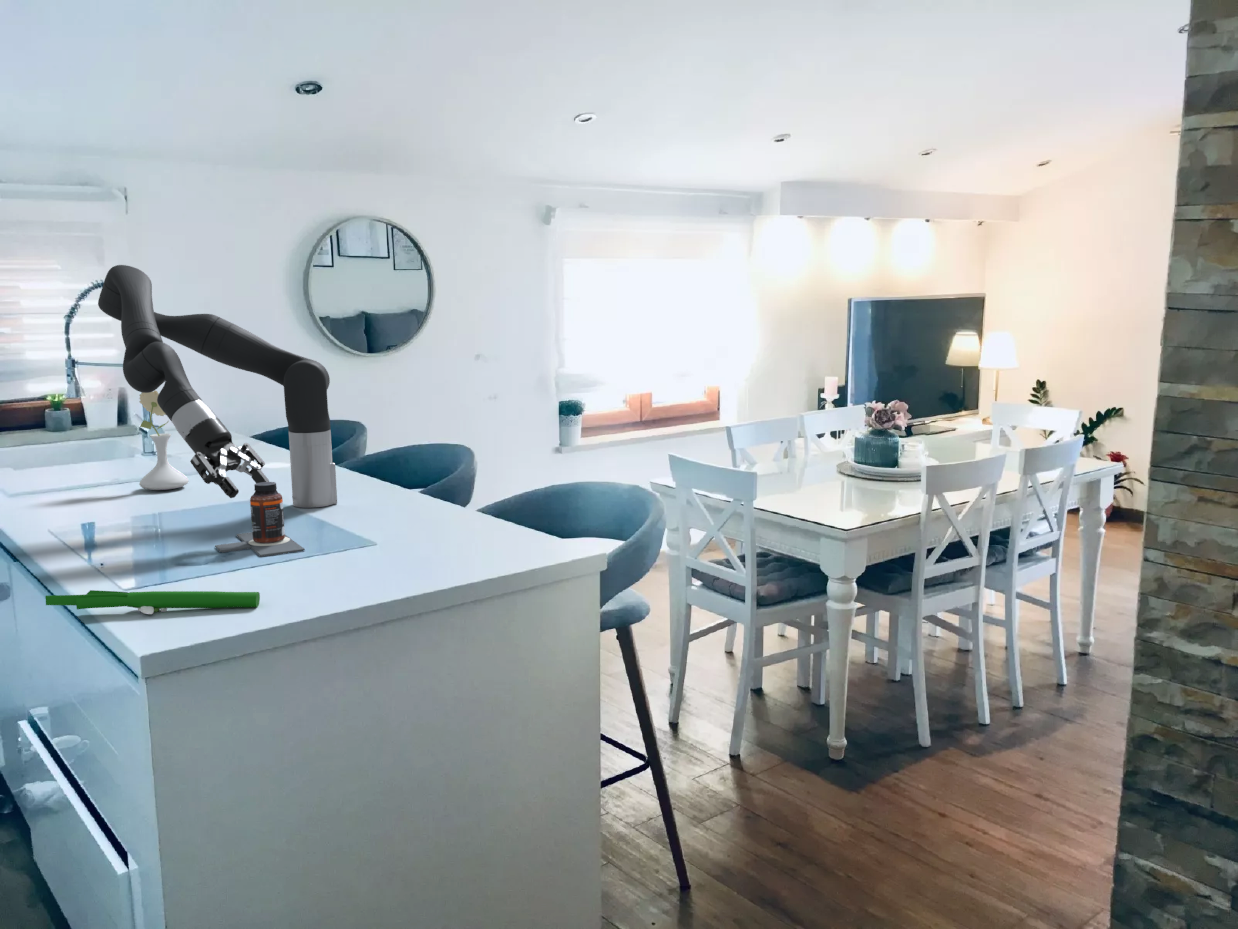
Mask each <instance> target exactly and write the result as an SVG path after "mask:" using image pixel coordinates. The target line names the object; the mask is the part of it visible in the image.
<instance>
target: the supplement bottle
mask: <svg viewBox="0 0 1238 929" xmlns="http://www.w3.org/2000/svg"><path fill="white" fill-rule="evenodd" d="M253 486H254V490H253V491H254V493H253V494H252V495H251V496H250V499H249V503H250V504H249V505H250V519H251V532H252V535H253V540H254V541H255V542H257V543H273V542H278V541H281V540H283V539H284V538H285V535H286V532H285V531H286V530H285V516H284V502H283V499H284V498H283V496H282V494H281V493H279V492H278V490H277V488H278V486H277V483H276V481H269V482H261V483H254V485H253Z"/></svg>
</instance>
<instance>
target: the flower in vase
mask: <svg viewBox="0 0 1238 929" xmlns="http://www.w3.org/2000/svg"><path fill="white" fill-rule="evenodd" d="M159 393H160V392H158V391H157V390H154V391H152V392H149V393H142V392H140V394H139V398H138V399H139V403H140V404H141V405H142V407H143V408H144V409H145V410H146V412H149V413H150V414H149V421H148V420H144V419H143V420H142V422H141V424H140V426H139V427H140V428H143V429H148V430H151V429H152V428H153V429H154V431H155V432H156V433H152V434H149V438H151V440H152V441H153V443H154V445H155V449H156V456H157V457H156V458H157V461H156V465H155V466H154V467H153V468H151V470H150V471H148V472H147V473H146V474H145V475H144V476H143V477H142V478H141V480H140V481H139V484H138V485H139V486H140V487H141V488H143V489H145V490H149V491H165V490H166V491H167V490H172V489H178V488H182V487H184V486H187V485H188V484H189V482H190V480H189V477H188V476H186V475H185V474H184V473H183V472H182V471H179V470H178V469H176V468H175V467H173V466H172V464H170V463H169V460H168V454H167V453H168V452H167V450H168V442H169V439H170V438H171V437H172V433H159V431H158V430H159V429H161V428H163V427H164V426H165V425H167V424H168V423H169V422H170V420H167V422H166V423H164V424H161V425H159V426H158V427H157V428H156V427H155V425H154V424H153V422H152V417H153V415H154V414H155V415H156V416H160V417H164V415H165V416H167V415H166V414H165V413H164V412H163V410H162V409H161V408H160V406H159V405H158V402H157V398H158V395H159Z"/></svg>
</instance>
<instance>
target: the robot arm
mask: <svg viewBox="0 0 1238 929" xmlns="http://www.w3.org/2000/svg"><path fill="white" fill-rule="evenodd" d="M150 278H151V277H149V275H147V274H146V273H145V272H144V271H142V270H141V269H139V268H137V267H134V266H131V265H127V264H118V265H115V266H114V265H113V266H112V267H111V268H110V269H109V270H108V271H107V273H106V276H105V278H104V281H103V284H102V287H101V290H100V294H99V298H98V301H97V305H98V309H100V310H101V311H102V312H103V313H104V314H105V315H107V316H110V317H111V318H112V319H115V320H118V321H121V323H120V327H121V328H120V329H121V330H120V331H121V332H120V333H121V337H122V340H123V344H124V347H125V351H124V357H123V362H122V371H123V376H124V378H125V380H126V382H127V384H128V385H129V386H130V387H131V388H132V389H134V390H135V391H137V392H140V393H149V392H152V391H153V392H154V391H157V389H158V388H159V387H161V385H163V387H162V388H161V390H160V391H159V392H158V393H159V395H158V398H157V402H158V405H159V406H160V408H161V409H162V410H163V412H164V413H165V414H166V415H165V416H167V418H168V420H169V421H171V423H172V424H173V426H174V428H175V429H176V431H177V433H178V434H179V435H180V437H181V438H182V439H183V440H184V441H185V443H186V444H187V445H188V447H189V448H190V449H191V451H192V452H193V453H194V455H193V457H192V458H191V459H190V464H191V465H192V467H193V468H194V469H195V471H196V472H197V474H199V477H200V478H201V479H202V480H203V482H204V484H207V485H210V484H211V483H212V484H214V485H217V486H219V487H220V489H221V491H222V492H223V493H224V494H225V496H227V497H229V498H230V499H234V498H235V497H237V495H238V494H239V489H238V488H237V485H235V484H234V482H233V481H232V480H231V479H230V477H229V476H227V475H226V472H229V471H237V472H239V473H245V474H246V475H249V477H251V479H252V480H253V481H254V482H255V483H254V484H256V483H261V482H270V480H269V478H268V477H267V476H266V474H265V473H264V472H263V471H262V468H263V467H264V466H265V465H266V462H265V461H264V460H263V459H262V458H261V456H260V455H259V454H258V452H256V451H255V449H254V448H253V447H252V446H251V445H250V444H249V443H247V442H244V443H243V445H242V446H237V445H236V444H234V442H233V438H232V437H233V436H232V433H231V432H230V430H229V429H228V428H227V427H226V425H224V424H223V422H222V421H221V419H220V418H219V417H218V416H217V415H216V414H215V412H214V411H213V409H211V408H210V406H209V405H207V404H206V403H205V401H203V399H202V398H201V397H200V395H199V394H198V393H197V392H196V391H195V389H194V388H193V387H192V385H191V383H190V381H189V378H188V376H187V374H186V371H185V369H184V366H183V363H182V361H181V359H180V356H179V355H178V353H177V352H176V351H175V349H174V348H173V347H172V346H170V345H169V344H167V343H165V342H164V341H163V337H164V338H165V339H168V340H170V341H172V342H175V343H177V344H179V345H181V346H184V347H186V348H188V349H190V350H192V351H194V352H196V353H198V354H200V355H202V356H204V357H206V358H208V359H211V360H214V361H216V362H217V363H220V364H222V365H226V366H228V367H230V368H231V367H232V368H235V369H237V370H238V369H239V370H242V371H245V372H250V373H253V374H257V375H259V376H260V375H261V376H263V377H265V378H268V379H269V380H271V381H273V382H276V383H278V384H279V385H280V386H283V394H284V395H283V397H284V408H285V417H286V422H287V426H288V427H287V428H288V444H289V457H290V458H289V460H290V461H289V462H290V477H291V479H290V480H291V493H292V494H291V496H292V497H291V498H292V505H293V506H294V507H295V508H304V509H305V508H308V509H309V508H311V509H312V508H321V507H328V506H331V505H336V504H338V494H337V492H338V489H337V475H336V474H337V471H336V463H335V462H333V452H332V451H333V448H332V432H331V430H332V429H331V427H332V426H331V419H330V413H329V404H328V403H329V402H328V389H329V387H330V383H331V381H330V380H331V379H330V375H329V374H330V373H329V372H328V370H327V369H326V367H325V366H324V365H323V364H322V363H320V362H318V361H317V360H314V359H311V358H308V357H304V356H301V355H298V354H295V353H293V352H290V351H287V350H285V349H282V348H280V347H277V346H275V345H273V344H271V343H270V342H268V341H266V340H265V339H263V338H262V337H260V336H258V335H256V334H254V333H253V332H251V331H249V330H246V329H245V328H243V327H241V326H240V325H237V324H235V323H234V322H231V321H228V320H226V319H224V318H222V317H220V316H217V315H215V314H212V313H194V314H184V315H183V314H182V315H165V314H163V313H158V312H156V311H154V304H153V294H152V293H153V291H152V290H153V286H152V284H153V283H152V280H151V279H150ZM242 461H243V462H242ZM249 467H250V468H251V469H250V468H249Z"/></svg>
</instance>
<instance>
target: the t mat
mask: <svg viewBox="0 0 1238 929" xmlns="http://www.w3.org/2000/svg"><path fill="white" fill-rule="evenodd" d="M235 535H236V537H237V538H238V539H239V540H241V541H237V542H230V543H223V544H215V545H214V548H215V547H216V548H217V549H218V550H219V551H220V552H222V553H228V552H229V551H230V552H235V551H243V549H245V550H252V551H253V552H254V553H255V554H256V555H257V556H259V557H260V558H262V557H263V556H264V557H268V556H269V557H271V556H276V555H278V554H279V555H284V554H283V553H286V554H289V553H288V552H293V553H298V552H297V551H300V552H303V551H302V550H305V548H304V547H303V546H302V545H300V544H299V543H297V542H296V541H295V540H293V539H292V538H290V537H289V536H288V535H286V534H285V538H284V539H283V540H281V541H278V542H273V543H257V542H255V541H254V540H253V535H252V531H251V532H242V533H236V534H235ZM216 548H215V549H216ZM217 549H216V550H217ZM218 550H217V551H218ZM219 551H218V552H219ZM305 551H306V550H305ZM220 552H219V553H220ZM230 552H229V553H230Z"/></svg>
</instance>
